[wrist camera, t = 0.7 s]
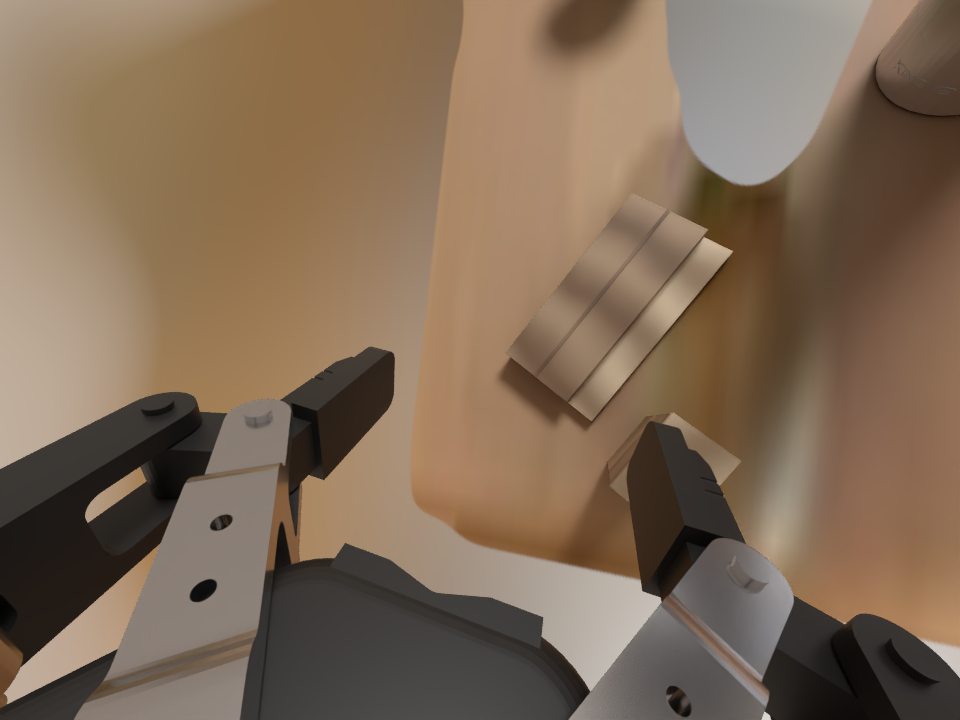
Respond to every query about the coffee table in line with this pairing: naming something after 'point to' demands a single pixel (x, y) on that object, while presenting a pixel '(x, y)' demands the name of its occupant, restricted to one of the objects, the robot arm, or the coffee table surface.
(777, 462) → the coffee table surface
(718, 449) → the plank
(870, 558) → the coffee table surface
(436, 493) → the coffee table surface
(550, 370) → the floor board
